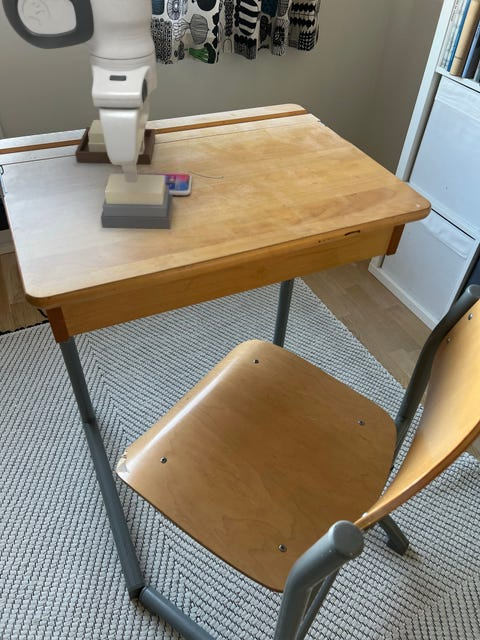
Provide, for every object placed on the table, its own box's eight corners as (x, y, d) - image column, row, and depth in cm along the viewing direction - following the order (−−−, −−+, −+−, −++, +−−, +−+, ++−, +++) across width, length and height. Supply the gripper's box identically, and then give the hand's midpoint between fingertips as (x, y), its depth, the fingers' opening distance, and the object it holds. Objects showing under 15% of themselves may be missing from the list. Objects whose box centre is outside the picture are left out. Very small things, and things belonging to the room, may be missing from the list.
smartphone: (111, 171, 96) (192, 173, 96) (112, 175, 96) (192, 178, 97) (105, 189, 90) (190, 192, 91) (105, 194, 91) (190, 197, 92)
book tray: (76, 162, 100) (74, 152, 98) (88, 136, 109) (86, 126, 107) (150, 164, 101) (149, 154, 99) (155, 138, 110) (154, 128, 108)
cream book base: (89, 154, 101) (87, 143, 100) (95, 139, 107) (94, 128, 105) (140, 155, 102) (139, 144, 100) (144, 140, 107) (143, 130, 106)
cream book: (106, 204, 82) (104, 191, 80) (111, 185, 86) (110, 173, 85) (163, 205, 82) (162, 192, 81) (165, 187, 87) (165, 174, 85)
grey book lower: (102, 227, 84) (100, 217, 82) (109, 202, 89) (108, 192, 88) (170, 229, 84) (169, 218, 83) (173, 204, 90) (172, 193, 89)
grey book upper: (103, 216, 82) (102, 206, 81) (110, 193, 88) (109, 183, 87) (166, 217, 83) (165, 207, 82) (169, 194, 88) (169, 184, 87)
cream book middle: (89, 142, 100) (87, 132, 99) (95, 129, 105) (93, 119, 104) (138, 144, 101) (137, 134, 99) (141, 130, 105) (141, 121, 104)
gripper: (113, 50, 79) (124, 138, 88) (88, 98, 64) (105, 197, 73) (154, 51, 79) (160, 138, 88) (139, 99, 64) (149, 198, 73)
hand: (135, 165), depth 81 cm, fingers open, 8 cm apart
